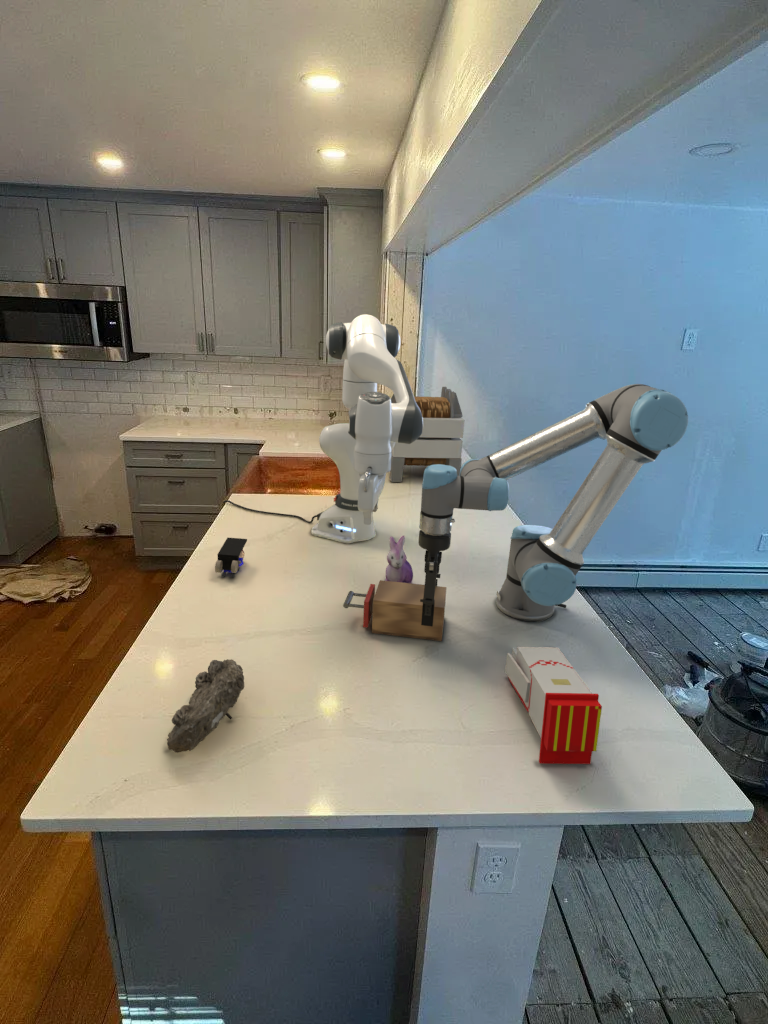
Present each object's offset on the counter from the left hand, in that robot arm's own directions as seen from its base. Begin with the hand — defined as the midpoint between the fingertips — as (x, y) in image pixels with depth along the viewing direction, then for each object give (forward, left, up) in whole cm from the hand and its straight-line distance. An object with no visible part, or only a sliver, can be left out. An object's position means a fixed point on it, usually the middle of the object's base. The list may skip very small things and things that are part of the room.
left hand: (370, 517), depth 140 cm
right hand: (+17, -3, -22) cm, 28 cm away
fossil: (-16, -49, -26) cm, 57 cm away
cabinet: (+12, -3, -26) cm, 29 cm away
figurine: (+4, +16, -26) cm, 31 cm away
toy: (+45, -27, -26) cm, 59 cm away
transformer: (-16, +135, -26) cm, 138 cm away
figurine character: (-45, +9, -26) cm, 53 cm away
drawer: (+6, -4, -25) cm, 26 cm away
